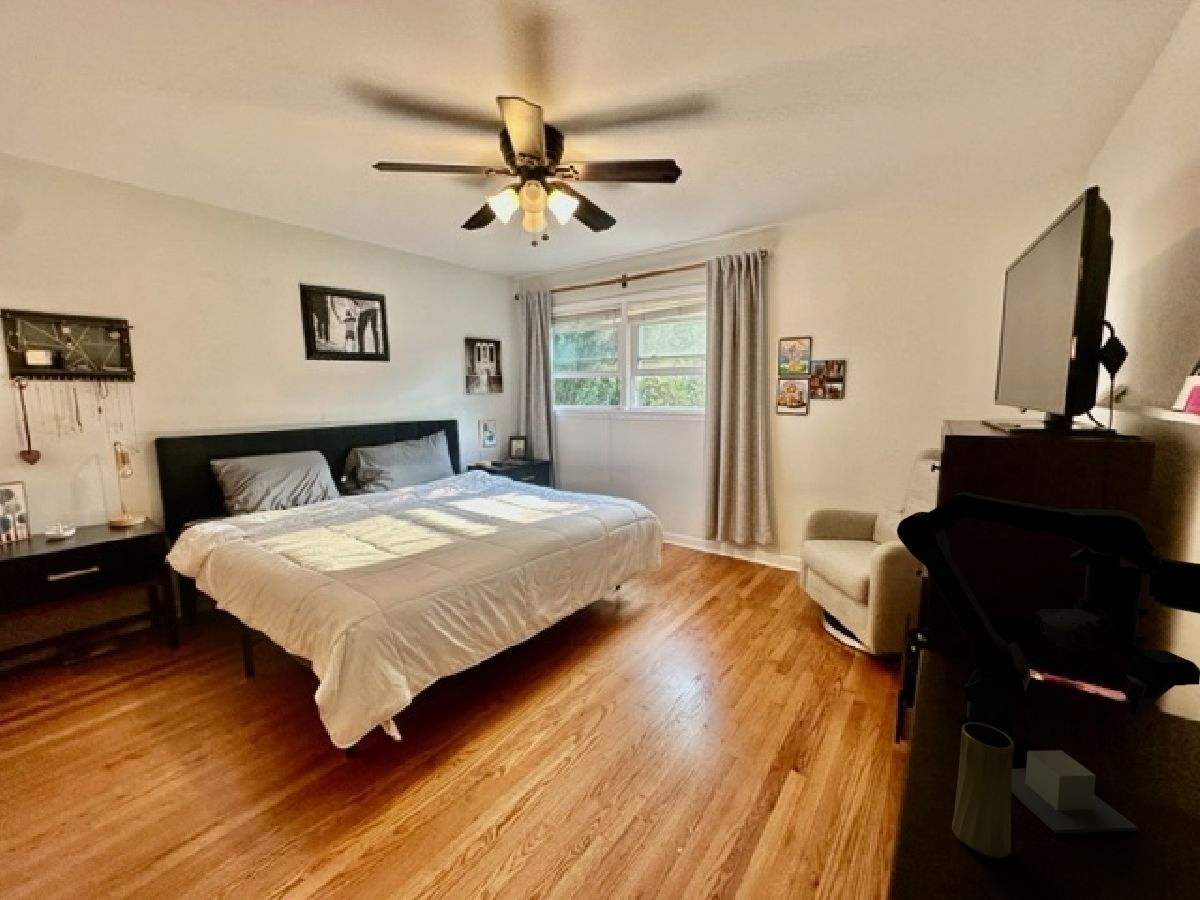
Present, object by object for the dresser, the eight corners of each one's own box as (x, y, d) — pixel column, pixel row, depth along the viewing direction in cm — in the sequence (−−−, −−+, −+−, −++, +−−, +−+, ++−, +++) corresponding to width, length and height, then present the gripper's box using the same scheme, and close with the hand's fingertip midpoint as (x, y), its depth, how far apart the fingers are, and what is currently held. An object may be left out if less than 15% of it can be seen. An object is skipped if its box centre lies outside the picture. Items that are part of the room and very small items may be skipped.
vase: (953, 812, 69) (959, 714, 68) (1011, 836, 65) (1018, 732, 64) (949, 842, 64) (955, 737, 63) (1011, 870, 60) (1019, 758, 59)
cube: (1025, 783, 74) (1027, 751, 73) (1058, 782, 74) (1061, 750, 73) (1057, 810, 69) (1059, 776, 68) (1092, 809, 69) (1095, 775, 68)
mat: (988, 772, 77) (988, 769, 76) (1058, 770, 77) (1058, 767, 77) (1056, 833, 66) (1056, 829, 66) (1137, 830, 66) (1137, 827, 66)
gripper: (1005, 575, 83) (999, 666, 85) (1125, 624, 65) (1115, 739, 66) (1071, 574, 83) (1064, 664, 85) (1209, 623, 65) (1197, 737, 66)
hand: (1102, 697), depth 75 cm, fingers open, 9 cm apart
